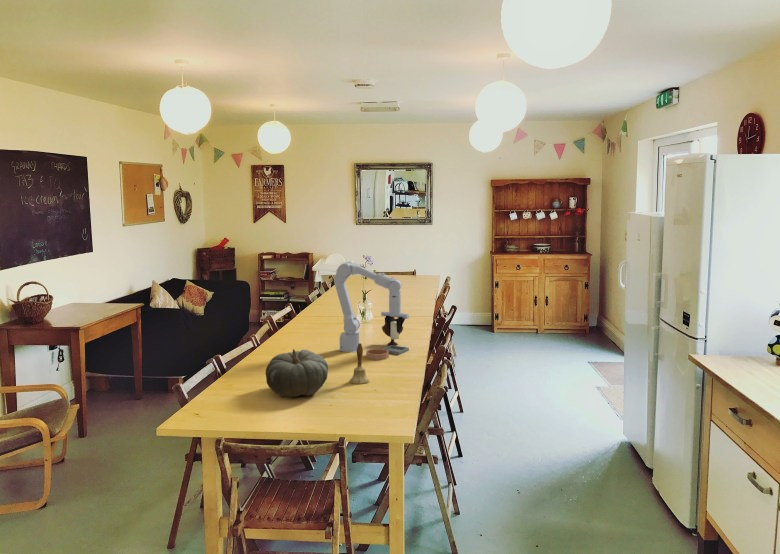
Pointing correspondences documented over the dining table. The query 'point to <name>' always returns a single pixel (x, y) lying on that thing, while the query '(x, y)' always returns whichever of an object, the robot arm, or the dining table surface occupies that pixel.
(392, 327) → the peg
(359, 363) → the hand bell
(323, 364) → the gourd
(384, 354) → the terracotta bowl
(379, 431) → the dining table surface
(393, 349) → the tray
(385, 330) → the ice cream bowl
